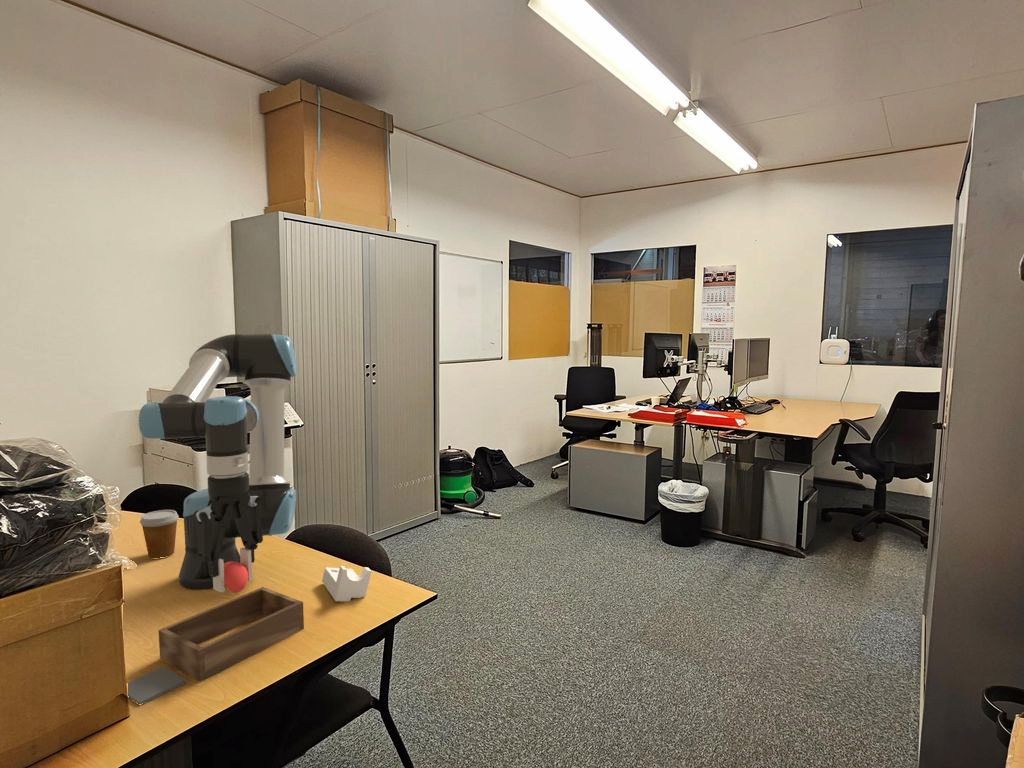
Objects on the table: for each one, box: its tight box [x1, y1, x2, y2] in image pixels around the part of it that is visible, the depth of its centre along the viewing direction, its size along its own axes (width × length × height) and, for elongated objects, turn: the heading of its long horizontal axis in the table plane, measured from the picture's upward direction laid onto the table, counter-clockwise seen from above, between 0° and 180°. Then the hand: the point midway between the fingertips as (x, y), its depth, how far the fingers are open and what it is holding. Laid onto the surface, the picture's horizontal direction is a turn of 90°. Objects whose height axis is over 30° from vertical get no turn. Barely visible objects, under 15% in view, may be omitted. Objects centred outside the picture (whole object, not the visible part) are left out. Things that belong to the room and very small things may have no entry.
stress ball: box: [224, 562, 249, 593], centre depth 121 cm, size 5×9×6 cm
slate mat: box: [127, 666, 187, 705], centre depth 107 cm, size 8×8×1 cm
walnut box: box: [158, 586, 305, 682], centre depth 122 cm, size 14×23×6 cm, turn 148°
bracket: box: [321, 565, 372, 602], centre depth 147 cm, size 13×7×8 cm, turn 32°
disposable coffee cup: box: [139, 509, 180, 559], centre depth 169 cm, size 10×10×12 cm
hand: (233, 584), depth 121 cm, fingers closed on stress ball, 5 cm apart
